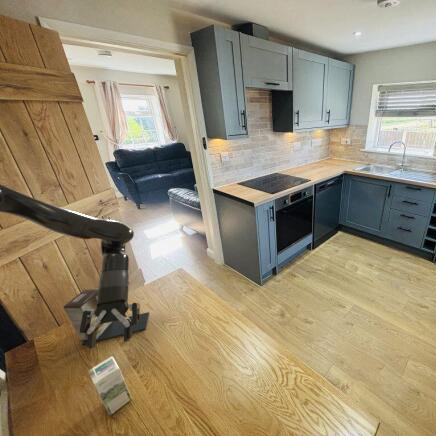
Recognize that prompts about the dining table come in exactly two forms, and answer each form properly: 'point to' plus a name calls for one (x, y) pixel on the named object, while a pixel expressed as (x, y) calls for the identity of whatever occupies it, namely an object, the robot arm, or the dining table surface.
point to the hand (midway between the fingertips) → (109, 344)
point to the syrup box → (110, 385)
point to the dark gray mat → (121, 328)
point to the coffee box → (78, 306)
